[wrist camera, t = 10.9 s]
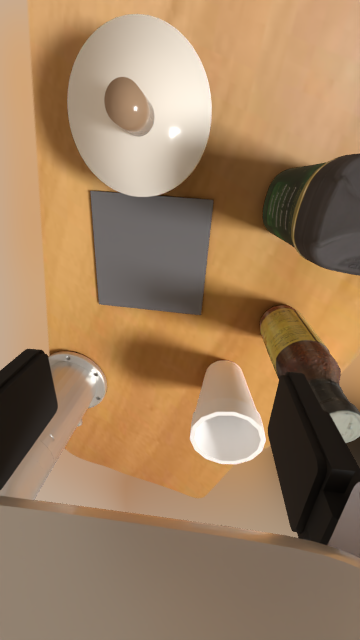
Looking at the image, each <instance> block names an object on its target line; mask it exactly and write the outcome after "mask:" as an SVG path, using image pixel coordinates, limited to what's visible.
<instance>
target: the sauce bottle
mask: <svg viewBox="0 0 360 640" xmlns="http://www.w3.org/2000/svg"><path fill="white" fill-rule="evenodd" d="M260 331H261V336H262V338H263V341H264V343H265V346H266V348H267V351H268V354H269V356H270V358H271V361H272V363H273V366H274V368H275V371H276V374H277V376H278V378H279V379H280V376H281V375H285V374H286V372H297V373H303V374H304V375H305V377H306V379H307V381H308V383H309V385H310V387H311V388H312V390H313V392H314V394H315V396H316V398H317V400H318V402H319V404H320V406H321V407H322V409H323V410H324V411H327V412H328V413H329V414H330V416H331V417H332V419H333V421H334V423H335V425H336V426H337V428H338V430H339V432H340V434H341V436H342V437H343V439H344V441H345V443H347V442H350V441H352V440H355V439H356V438H358V437H359V436H360V412H359V411H358V409H357V408H356V407H355V406H354V405H353V404H351V403H350V402H349V401H348V399H347V398H346V396H345V395H344V394H343V391H342V389H341V387H340V386H339V380H340V375H341V374H340V372H341V371H340V368H339V366H338V364H337V362H336V361H335V359H334V358H333V357H332V356H331V354H330V352H329V350H328V349H327V347H326V346H325V345H324V343H323V342H322V341H321V339H320V338H319V337H318V336H317V334H316V333H315V332H314V330H313V329H312V328H311V327H310V325H309V324H308V323H307V321H306V320H305V319H304V318H303V316H302V315H301V314H300V313H299V312H298V311H296V310H295V309H294V308H292V307H290V306H286V305H280V306H275V307H272V308H270V309H269V310H267V311H266V312H265V313H264V314H263V316H262V317H261V320H260Z"/></svg>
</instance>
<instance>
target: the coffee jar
mask: <svg viewBox="0 0 360 640" xmlns="http://www.w3.org/2000/svg"><path fill="white" fill-rule="evenodd" d="M263 223H264V225H265V227H266V228H267V230H268V231H270V232H271V233H272V234H274V235H275V236H277V237H279V238H280V239H282V240H284V241H285V242H287V243H289V244H290V245H292V246H293V247H295V249H296V250H297V252H298V253H299V254H300V255H301V256H302V257H303V258H305V259H307V260H308V261H310V262H312V263H314V264H316V265H318V266H320V267H323V268H326V269H329V270H334V271H338V272H343V273H348V274H353V275H360V154H351V155H345V156H341V157H338V158H335V159H333V160H331V161H329V162H327V163H321V164H316V165H311V166H304V167H297V168H292V169H288V170H285V171H283V172H281V173H280V174H278V175H277V176H276V177H275V178H274V180H273V181H272V183H271V184H270V187H269V189H268V192H267V195H266V199H265V202H264V207H263Z"/></svg>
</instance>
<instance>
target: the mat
mask: <svg viewBox="0 0 360 640" xmlns="http://www.w3.org/2000/svg"><path fill="white" fill-rule="evenodd" d="M90 192H91V205H92V218H93V231H94V245H95V258H96V271H97V284H98V297H99V304H102V305H111V306H120V307H130V308H139V309H148V310H158V311H167V312H176V313H185V314H195V315H201V310H202V301H203V292H204V283H205V274H206V264H207V255H208V246H209V237H210V228H211V219H212V210H213V200H208V199H194V198H181V197H167V196H150V197H136V196H130V195H126V194H123V193H113V192H100V191H90Z"/></svg>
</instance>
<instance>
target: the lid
mask: <svg viewBox="0 0 360 640" xmlns="http://www.w3.org/2000/svg"><path fill="white" fill-rule="evenodd" d="M67 105H68V117H69V124H70V128H71V132H72V136H73V139H74V141H75V144H76V147H77V149H78V151H79V153H80V155H81V157H82V158H83V160H84V161H85V163H86V165H87V166H88V167H89V168H90V170H91V171H92V172H93V173H94V174H95V175H96V176H97V177H98V178H99V179H100V180H101V181H102V182H103V183H105V184H106V185H107V186H109V187H111V188H112V189H114V190H116V191H118V192H120V193H123V194H126V195H130V196H136V197H150V196H157V195H160V194H164V193H166V192H168V191H170V190H172V189H174V188H176V187H177V186H179V185H180V184H181V183H182V182H183V181H185V180H186V179H187V178H188V177H189V175H190V174H191V173H192V172H193V171H194V169H195V168H196V166H197V165H198V163H199V161H200V159H201V157H202V155H203V153H204V151H205V148H206V145H207V142H208V138H209V134H210V128H211V116H212V106H211V94H210V88H209V83H208V79H207V76H206V73H205V70H204V67H203V65H202V63H201V60H200V58H199V56H198V55H197V53H196V51H195V50H194V48H193V47H192V45H191V44H190V43H189V41H188V40H187V39H186V38H185V37H184V36H183V35H182V34H181V33H180V32H179V31H178V30H177V29H176V28H174V27H173V26H171V25H170V24H169V23H167V22H165V21H163V20H161V19H159V18H156V17H153V16H149V15H142V14H130V15H124V16H120V17H117V18H114V19H112V20H110V21H108V22H106V23H105V24H103V25H102V26H101V27H99V28H98V29H97V30H96V31H95V32H94V33H93V34H92V35H91V36H90V37H89V38H88V39H87V41H86V42H85V43H84V45H83V46H82V48H81V50H80V52H79V53H78V55H77V58H76V60H75V63H74V65H73V68H72V72H71V75H70V80H69V86H68V98H67Z"/></svg>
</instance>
